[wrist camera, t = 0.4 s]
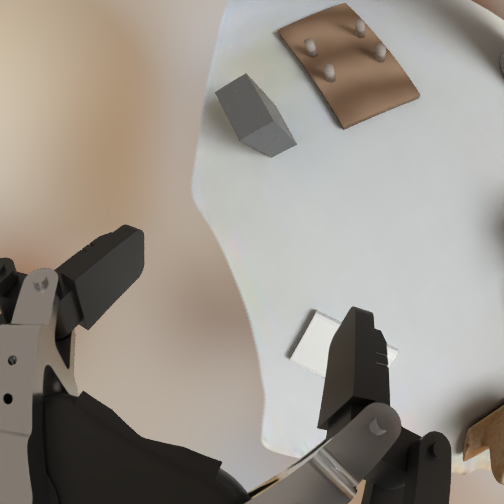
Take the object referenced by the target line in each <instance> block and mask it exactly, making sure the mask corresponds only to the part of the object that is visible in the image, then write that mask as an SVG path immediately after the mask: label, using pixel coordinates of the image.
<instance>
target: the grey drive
mask: <svg viewBox="0 0 504 504" xmlns="http://www.w3.org/2000/svg"><path fill="white" fill-rule="evenodd" d="M215 94H216V95H217V97H218V99H219V101H220V103H221V105H222V107H223V109H224V111H225V113H226V115H227V117H228V119H229V121H230V123H231V125H232V127H233V129H234V131H235V133H236V135H237V137H238V139H239V141H241V142H243V143H245V144H247V145H249V146H251V147H253V148H254V149H256V150H258V151H260V152H262V153H264V154H266V155H267V156H269V157H271V158H272V157H274V156H275V155H277V154H279V153H281V152H283V151H285V150H287V149H289V148H291V147H293V146H295V145H297V143H296V142H295V140H294V138H293V136H292V134H291V132H290V131H289V129H288V127H287V125H286V123H285V122H284V120H283V118H282V116H281V114H280V113H279V111H278V109H277V108H276V106H275V105H274V103H273V102H272V101H271V100H270V99H269V98H268V97H267V95H266V94H265V93H264V92H263V91H262V90H261V89H260V88H259V87H258V86H257V84H256V83H255V82H254V81H253V80H252V79H251V78H250V77H249V76H248V75H247V74H244V75H243V76H241V77H239V78H237V79H236V80H234V81H233V82H231V83H229V84H228V85H226V86H224V87H223V88H221V89H220V90H218V91H217V92H215Z"/></svg>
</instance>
